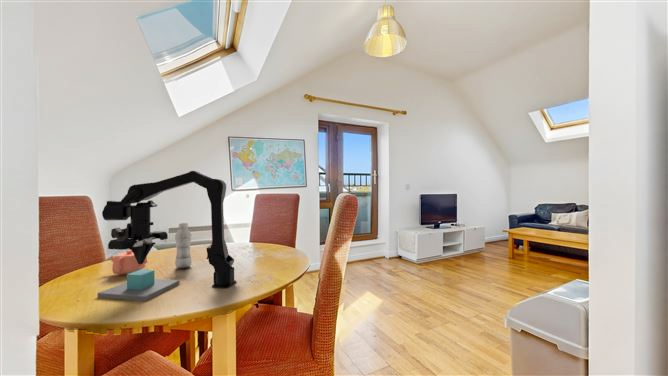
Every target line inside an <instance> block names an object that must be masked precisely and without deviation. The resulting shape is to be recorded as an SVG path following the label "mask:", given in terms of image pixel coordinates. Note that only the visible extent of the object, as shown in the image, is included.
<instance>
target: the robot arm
mask: <svg viewBox="0 0 668 376" xmlns="http://www.w3.org/2000/svg"><path fill="white" fill-rule="evenodd" d="M193 183H194V184H196V185H198V186H200V187H201V188H203V189H206V192H207V193H206V194H207V198H208V199H209V202H210V210H211V211H210V213H211V214H210V215H211V219H210V220H211V244H210V245H208V246H207V247H206V255H207V256H206V260H208V263H209V265H211V266H212V267H213V269H214V272H213V284H212V285H211V288H224V289H228V288H230V287H231V286H233V285H234V284H236V283H237V280H236V279H235V267H234V266H233V265H234V263H235V258H234V257H232V256H231V255H230V253H229V251H228V246H227V243H226V239H225V225H224V224H225V222H224V201H225V197H226V193H227V183H226V182H225V181H224V180H222V179H218V178H212V177H210V176H207V175H204V174H202V173H200V172H199V171H197V170H191V171H188V172H186V173H182V174H179V175H175V176H173V177H169V178H166V179H162V180H159V181H154V182H145V183H139V184H133V185H131V186H129V187H128V189H127V193H126V194H125V196H124V197H123V198H122V199H121V200H119V201H118V200H117V201H116V200H107V201H106V205H104V206H103V210H102V212H101V214H102V218H103V220H105V221H126V220H128V219H129V218H130V221H129V223H127V224H126V227H124V228H120V227H115V228H112V229H111V232H110V236H111V240H110V241H108V244H107V249H108V250H121V251H123V250H128V249H129V250H132V252H133V254H134V256H135V258H136V260H137V262H138V264H143V262H144V260H145V258H146V257H147V256H148V254H149V253H150V251H151V250H152V248H153V246H154V245H156V242H153V240H156V239H159V240H160V241H164V240H167V239H168V238H169V237H168V232H166V231H163V230H162V231H161V230H160V231H157V230H155V231H151V226H154V222H153V221H151V208H156V207H158V204H157V203H155V202H154V201H153V200H152V199H153V198H155V197H157V196H158V195H160V194H162V193H163V192H166V191H170V190H174V189H176V188H180V187H182V186H186V185H189V184H193ZM150 199H151V200H150ZM144 201H147V202H144ZM133 204H136V205H133ZM147 258H148V257H147Z"/></svg>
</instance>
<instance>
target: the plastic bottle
mask: <svg viewBox="0 0 668 376" xmlns="http://www.w3.org/2000/svg"><path fill="white" fill-rule="evenodd" d="M188 228H189V223H185V222H184V223H178V230H177V231H176V233H175V235H174V238H175V246H176V247H175V248H176V255H175V260H174V261H175V267H176V269H186V268H190V267H191V266H192V256H191V241H192V233H191V231H190V230H189V229H188Z"/></svg>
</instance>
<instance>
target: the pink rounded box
mask: <svg viewBox="0 0 668 376" xmlns="http://www.w3.org/2000/svg"><path fill="white" fill-rule="evenodd" d="M109 260H110V261H111V262H112V268H111V269H112V273H113V274H114V275H116V277H119V276H122V275H123V274H124V275H125V274H126V275H127V274H129V273H132V272H135V271H138V270H141V269H142V270H144V268H145V267H146V264H147V263H148V257H146V258H145V260H144V262H143V264H138V262H137V260H136V258H135V256H134V254H133V252H132V250H130V249H129V250H128V249H127V250H126V251H125V252H123V253H120V254H116V255H112V256H110V257H109Z"/></svg>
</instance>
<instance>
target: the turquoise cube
mask: <svg viewBox="0 0 668 376" xmlns="http://www.w3.org/2000/svg"><path fill="white" fill-rule="evenodd" d="M154 279H155V270H153V269H141V270H138V271H135V272H132V273H129V274H126V282H127V289H136V290H142V289H144V288H146V287H149V286H151V285H153V284H154Z"/></svg>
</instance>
